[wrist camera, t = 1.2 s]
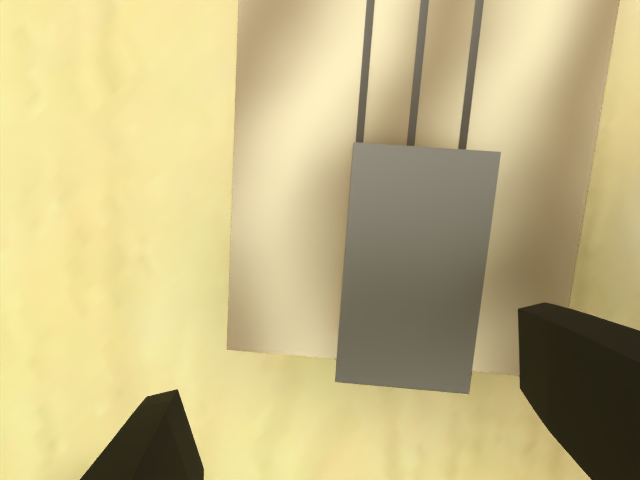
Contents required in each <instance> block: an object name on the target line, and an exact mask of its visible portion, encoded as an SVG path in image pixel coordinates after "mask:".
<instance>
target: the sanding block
mask: <svg viewBox="0 0 640 480" xmlns="http://www.w3.org/2000/svg"><path fill="white" fill-rule="evenodd" d="M500 156H501V152H494V151H479V150H464V149H449V148H434V147H419V146H404V145H389V144H373V143H358V142H354V143H353V149H352V162H351V175H350V188H349V201H348V214H347V226H346V239H345V252H344V265H343V278H342V291H341V304H340V317H339V329H338V344H337V360H336V376H335V382H342V383H353V384H364V385H375V386H386V387H397V388H408V389H419V390H430V391H441V392H452V393H463V394H469V390H470V383H471V375H472V367H473V360H474V352H475V345H476V337H477V330H478V322H479V315H480V307H481V300H482V292H483V285H484V277H485V270H486V262H487V254H488V247H489V239H490V232H491V224H492V217H493V209H494V202H495V194H496V187H497V179H498V172H499V164H500Z"/></svg>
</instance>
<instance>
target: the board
mask: <svg viewBox="0 0 640 480" xmlns="http://www.w3.org/2000/svg"><path fill="white" fill-rule="evenodd" d="M619 1H620V0H239V3H238V33H237V63H236V93H235V122H234V152H233V182H232V212H231V241H230V271H229V301H228V331H227V350H237V351H249V352H260V353H271V354H282V355H294V356H305V357H316V358H328V359H337V344H338V329H339V317H340V304H341V291H342V278H343V265H344V252H345V239H346V226H347V214H348V201H349V188H350V175H351V162H352V149H353V143H354V142H358V143H373V144H389V145H404V146H419V147H434V148H449V149H464V150H479V151H494V152H501V156H500V164H499V172H498V179H497V187H496V194H495V202H494V209H493V217H492V224H491V232H490V239H489V247H488V254H487V262H486V270H485V277H484V285H483V292H482V300H481V307H480V315H479V322H478V330H477V337H476V345H475V352H474V360H473V367H472V371H474V372H486V373H497V374H508V375H519V376H520V369H519V334H518V308H523V307H527V306H531V305H535V304H539V303H544V302H546V303H550V304H555V305H558V306H562V307H566V308H568V306H569V300H570V294H571V288H572V282H573V276H574V270H575V264H576V258H577V252H578V246H579V240H580V235H581V229H582V223H583V217H584V211H585V205H586V199H587V193H588V187H589V181H590V175H591V169H592V163H593V157H594V151H595V145H596V139H597V133H598V127H599V121H600V115H601V109H602V103H603V97H604V91H605V85H606V79H607V73H608V67H609V61H610V55H611V49H612V43H613V37H614V31H615V25H616V19H617V13H618V7H619Z"/></svg>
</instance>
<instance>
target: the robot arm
mask: <svg viewBox="0 0 640 480" xmlns="http://www.w3.org/2000/svg"><path fill="white" fill-rule="evenodd" d="M518 334H519V369H520V389H521V390H522V392H523V394H524V395H525V397H526V398H527V400H528V401H529V403H530V404H531V406H532V407H533V409H534V410H535V412H536V413H537V415H538V416H539V418H540V419H541V420H542V422H543V423H544V425H545V426H546V427H547V429H548V430H549V431H550V433H551V434H552V435H553V436H554V437H555V438H556V440H557V441H558V442H559V443H560V444H561V445H562V447H563V448H564V449H565V450H566V451H567V452H568V453H569V455H570V456H571V457H572V458H573V459H574V460H575V461H576V463H577V464H578V465H579V466H580V467H581V468H582V469H583V471H584V472H585V473H586V474H587V475H588V476H589V477H590V478H591V480H640V331H639V330H635V329H632V328H629V327H626V326H623V325H620V324H617V323H614V322H610V321H607V320H604V319H601V318H598V317H595V316H592V315H589V314H586V313H582V312H579V311H576V310H573V309H569V308H566V307H562V306H558V305H555V304H550V303H546V302H544V303H539V304H535V305H531V306H527V307H523V308H518ZM80 480H204V468H203V465H202V462H201V459H200V456H199V453H198V450H197V447H196V444H195V441H194V438H193V434H192V431H191V428H190V425H189V422H188V419H187V416H186V413H185V410H184V407H183V404H182V401H181V398H180V395H179V392H178V389H177V390H173V391H169V392H164V393H160V394H156V395H152V396H147V397H146V398H145V399H144V401H143V402H142V403H141V404H140V405H139V406H138V408H137V409H136V410H135V411H134V413H133V414H132V415H131V416H130V418H129V419H128V420H127V422H126V423H125V424H124V425H123V427H122V428H121V429H120V430H119V432H118V433H117V434H116V436H115V437H114V438H113V439H112V441H111V442H110V443H109V444H108V446H107V447H106V448H105V449H104V451H103V452H102V453H101V454H100V456H99V457H98V458H97V459H96V460H95V462H94V463H93V464H92V465H91V467H90V468H89V469H88V470H87V472H86V473H85V474H84V475H83V477H82V478H81V479H80Z"/></svg>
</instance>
